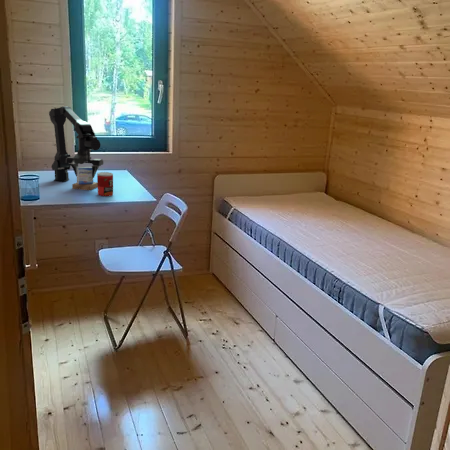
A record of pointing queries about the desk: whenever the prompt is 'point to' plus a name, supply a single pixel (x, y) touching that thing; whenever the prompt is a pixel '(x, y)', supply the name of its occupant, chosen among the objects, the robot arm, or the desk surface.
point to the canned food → (105, 183)
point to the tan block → (84, 186)
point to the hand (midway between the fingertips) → (85, 177)
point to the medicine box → (84, 175)
